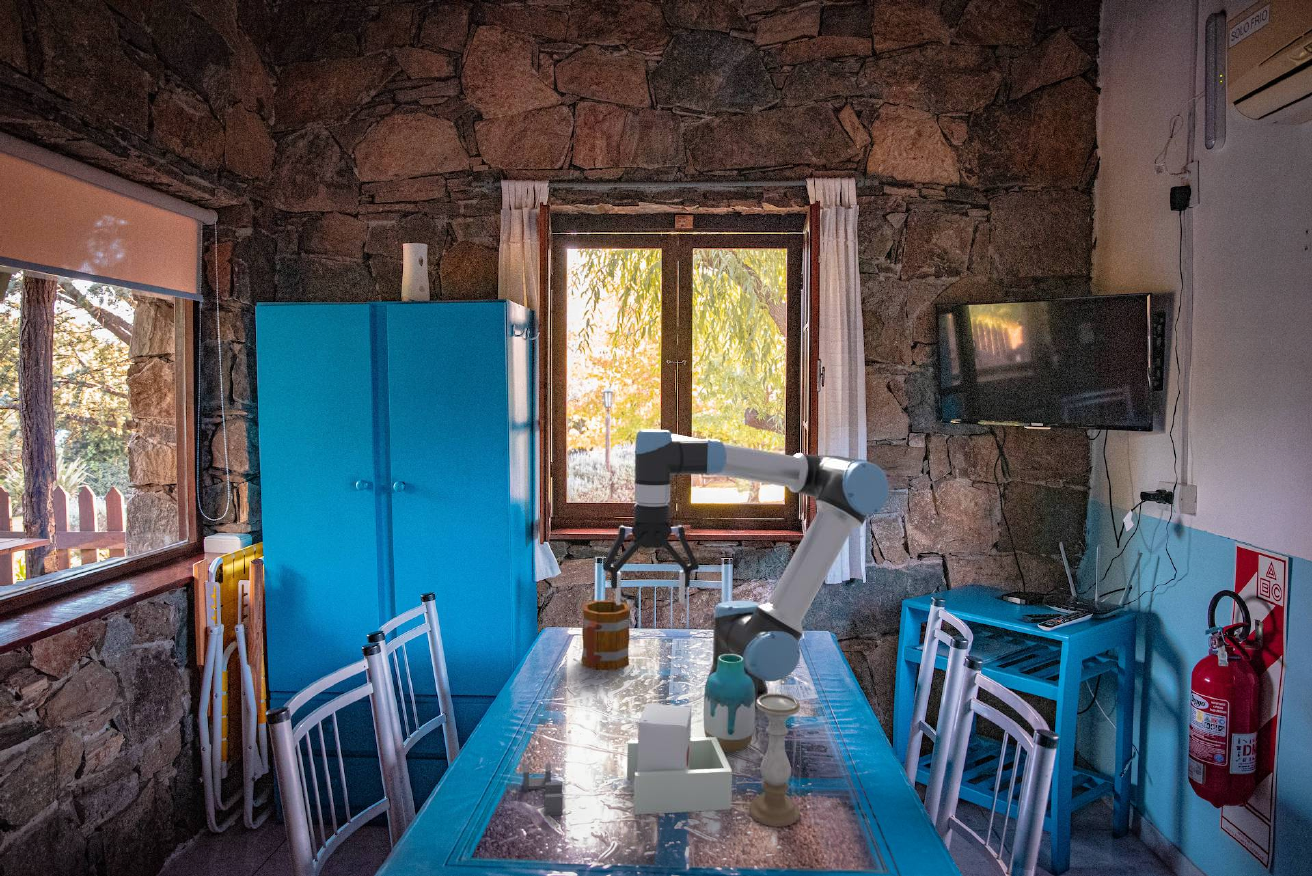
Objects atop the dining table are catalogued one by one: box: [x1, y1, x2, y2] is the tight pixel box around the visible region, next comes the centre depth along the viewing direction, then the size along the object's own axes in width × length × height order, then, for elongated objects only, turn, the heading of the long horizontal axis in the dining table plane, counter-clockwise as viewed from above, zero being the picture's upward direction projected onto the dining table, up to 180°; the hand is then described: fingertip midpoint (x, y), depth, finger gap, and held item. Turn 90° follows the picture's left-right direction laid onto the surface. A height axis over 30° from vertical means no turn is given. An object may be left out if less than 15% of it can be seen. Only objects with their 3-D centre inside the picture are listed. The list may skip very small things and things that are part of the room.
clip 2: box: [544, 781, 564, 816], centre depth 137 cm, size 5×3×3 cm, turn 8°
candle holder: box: [748, 693, 801, 828], centre depth 136 cm, size 9×9×20 cm
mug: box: [581, 600, 631, 671], centre depth 205 cm, size 20×14×15 cm
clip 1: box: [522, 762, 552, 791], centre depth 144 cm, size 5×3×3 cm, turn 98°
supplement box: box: [637, 702, 692, 772], centre depth 142 cm, size 9×9×15 cm
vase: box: [703, 654, 756, 754], centre depth 160 cm, size 11×11×19 cm
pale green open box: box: [626, 736, 733, 816], centre depth 143 cm, size 17×13×7 cm
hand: (649, 602), depth 164 cm, fingers open, 13 cm apart
